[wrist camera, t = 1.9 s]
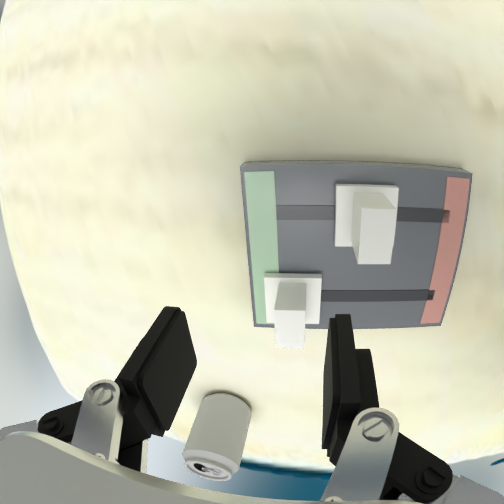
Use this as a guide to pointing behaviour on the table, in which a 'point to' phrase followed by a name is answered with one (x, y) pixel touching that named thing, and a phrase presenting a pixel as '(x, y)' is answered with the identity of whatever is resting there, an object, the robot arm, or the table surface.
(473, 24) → the table surface
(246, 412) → the can
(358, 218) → the breaker
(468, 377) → the table surface
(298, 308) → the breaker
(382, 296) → the slider switch panel
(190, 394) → the table surface
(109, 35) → the table surface
